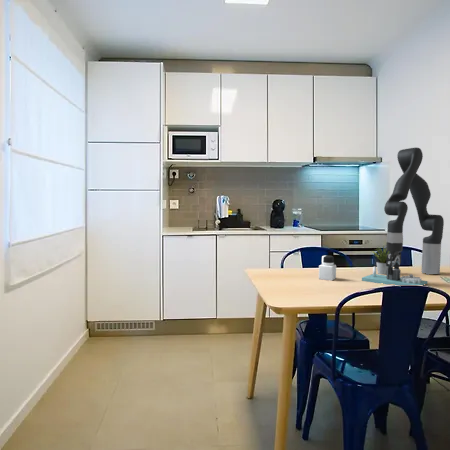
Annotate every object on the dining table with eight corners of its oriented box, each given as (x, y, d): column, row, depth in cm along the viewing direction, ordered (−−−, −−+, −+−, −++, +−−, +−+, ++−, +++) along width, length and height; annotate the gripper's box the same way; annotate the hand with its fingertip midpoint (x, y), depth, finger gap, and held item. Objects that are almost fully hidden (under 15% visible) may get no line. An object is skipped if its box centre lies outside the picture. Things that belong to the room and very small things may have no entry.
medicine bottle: (336, 278, 212) (336, 255, 211) (332, 280, 205) (332, 257, 205) (322, 276, 215) (323, 254, 214) (318, 279, 209) (319, 256, 208)
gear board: (373, 276, 218) (373, 264, 217) (427, 284, 200) (428, 270, 199) (361, 280, 206) (362, 267, 206) (418, 288, 189) (418, 274, 188)
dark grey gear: (389, 277, 208) (389, 267, 207) (401, 279, 203) (402, 269, 203) (384, 279, 203) (384, 269, 203) (397, 281, 199) (398, 271, 198)
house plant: (393, 271, 234) (395, 243, 233) (402, 276, 220) (403, 246, 219) (368, 270, 235) (369, 242, 234) (374, 275, 221) (375, 245, 220)
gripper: (392, 239, 210) (390, 270, 211) (381, 241, 199) (380, 274, 200) (407, 241, 205) (405, 272, 206) (397, 243, 194) (396, 276, 195)
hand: (393, 273), depth 203 cm, fingers open, 8 cm apart
